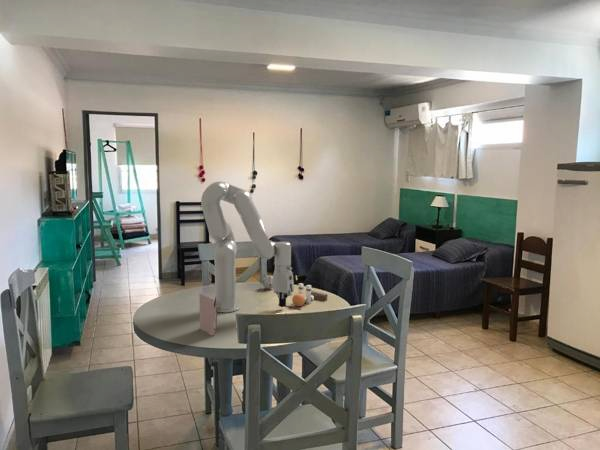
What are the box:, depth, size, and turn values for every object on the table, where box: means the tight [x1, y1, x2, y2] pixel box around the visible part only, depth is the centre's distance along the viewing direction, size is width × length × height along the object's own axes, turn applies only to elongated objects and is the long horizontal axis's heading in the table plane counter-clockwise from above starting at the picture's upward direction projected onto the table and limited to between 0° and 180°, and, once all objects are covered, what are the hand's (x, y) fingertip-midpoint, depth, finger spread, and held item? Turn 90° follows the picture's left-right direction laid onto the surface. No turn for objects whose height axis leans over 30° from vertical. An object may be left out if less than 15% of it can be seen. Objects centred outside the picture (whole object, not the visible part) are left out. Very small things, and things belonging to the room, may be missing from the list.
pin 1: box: [297, 282, 304, 296], centre depth 241 cm, size 2×2×9 cm
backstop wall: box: [311, 290, 328, 302], centre depth 248 cm, size 2×12×3 cm, turn 50°
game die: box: [261, 273, 274, 290], centre depth 266 cm, size 9×8×10 cm
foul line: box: [277, 303, 302, 311], centre depth 232 cm, size 1×14×1 cm, turn 50°
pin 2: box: [305, 284, 312, 305], centre depth 238 cm, size 2×2×9 cm
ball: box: [291, 293, 305, 307], centre depth 233 cm, size 6×6×6 cm
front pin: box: [304, 295, 314, 304], centre depth 241 cm, size 2×2×9 cm
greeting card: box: [199, 293, 218, 336], centre depth 194 cm, size 11×7×15 cm, turn 5°
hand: (282, 306), depth 228 cm, fingers closed
